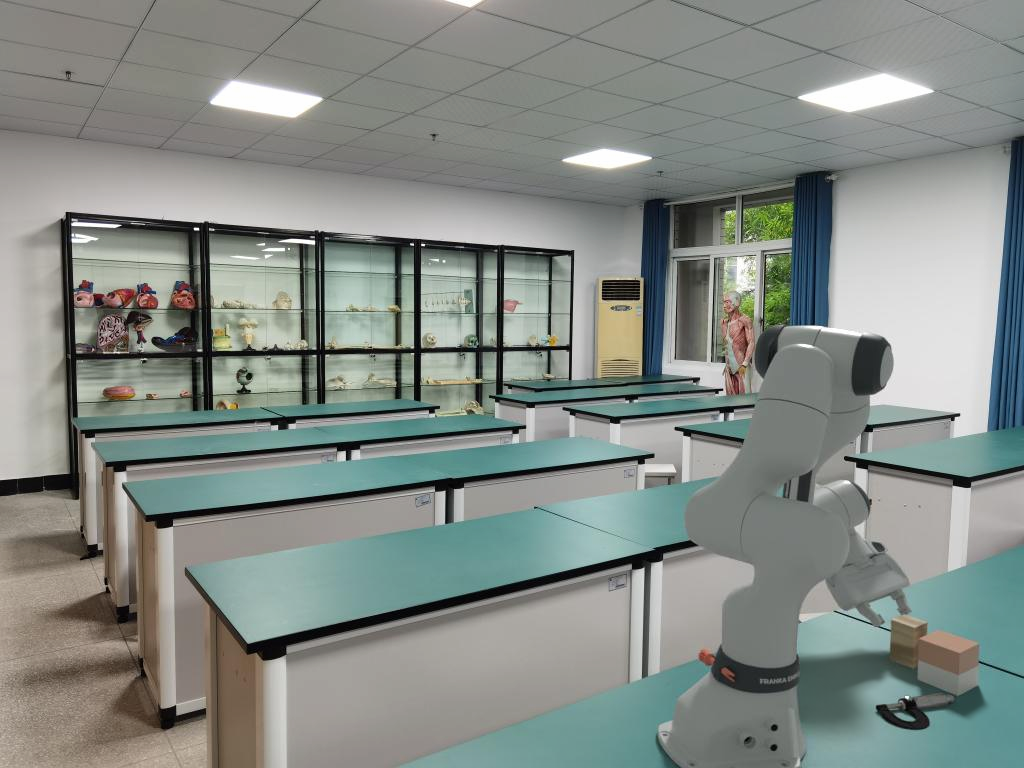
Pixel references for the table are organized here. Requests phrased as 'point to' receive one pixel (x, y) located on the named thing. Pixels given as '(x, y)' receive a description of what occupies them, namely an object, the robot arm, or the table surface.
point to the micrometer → (914, 709)
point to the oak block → (906, 639)
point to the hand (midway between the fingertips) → (894, 619)
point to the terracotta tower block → (948, 652)
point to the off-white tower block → (948, 678)
